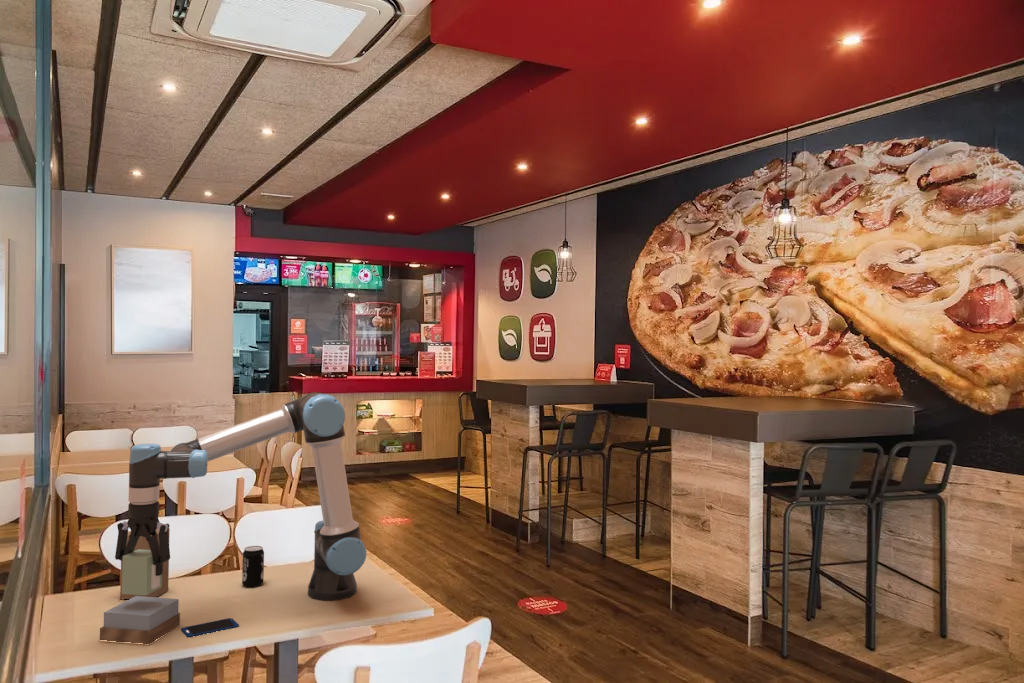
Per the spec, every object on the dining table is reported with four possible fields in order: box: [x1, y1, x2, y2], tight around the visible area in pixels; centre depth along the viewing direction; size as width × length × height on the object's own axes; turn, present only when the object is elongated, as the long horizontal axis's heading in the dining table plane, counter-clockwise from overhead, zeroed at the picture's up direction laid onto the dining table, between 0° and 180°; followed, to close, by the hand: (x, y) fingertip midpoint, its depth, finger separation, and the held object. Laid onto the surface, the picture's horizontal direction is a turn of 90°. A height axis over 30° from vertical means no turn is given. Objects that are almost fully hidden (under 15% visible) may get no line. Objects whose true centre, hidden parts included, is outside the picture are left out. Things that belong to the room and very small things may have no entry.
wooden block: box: [119, 527, 171, 600], centre depth 231 cm, size 10×10×20 cm
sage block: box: [122, 549, 162, 595], centre depth 202 cm, size 7×7×10 cm
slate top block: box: [103, 596, 180, 631], centre depth 201 cm, size 13×13×4 cm
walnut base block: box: [99, 612, 181, 644], centre depth 201 cm, size 14×14×4 cm
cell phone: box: [180, 617, 240, 638], centre depth 206 cm, size 7×14×1 cm, turn 128°
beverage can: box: [241, 545, 265, 588], centre depth 243 cm, size 7×7×12 cm
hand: (142, 586), depth 201 cm, fingers closed on sage block, 7 cm apart
